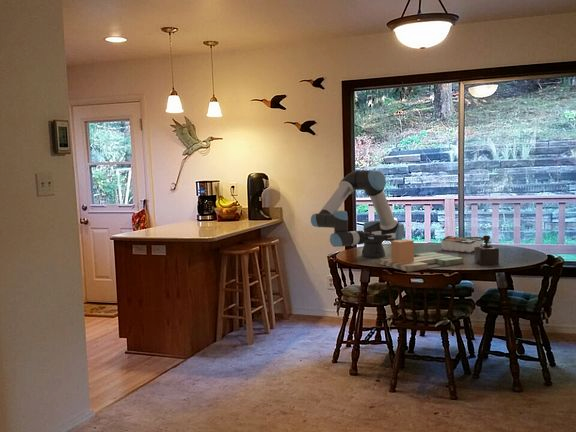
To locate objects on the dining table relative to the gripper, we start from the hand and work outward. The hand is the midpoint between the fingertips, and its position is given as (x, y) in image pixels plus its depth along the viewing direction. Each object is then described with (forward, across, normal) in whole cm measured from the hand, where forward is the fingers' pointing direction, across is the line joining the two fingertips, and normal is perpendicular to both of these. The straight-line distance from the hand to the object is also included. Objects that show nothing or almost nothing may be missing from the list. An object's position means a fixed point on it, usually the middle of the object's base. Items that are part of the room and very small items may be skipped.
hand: (388, 234), depth 317 cm
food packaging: (+76, -22, -19) cm, 81 cm away
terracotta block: (+10, 0, -17) cm, 19 cm away
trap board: (+23, 0, -20) cm, 30 cm away
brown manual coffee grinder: (+52, +24, -20) cm, 60 cm away
